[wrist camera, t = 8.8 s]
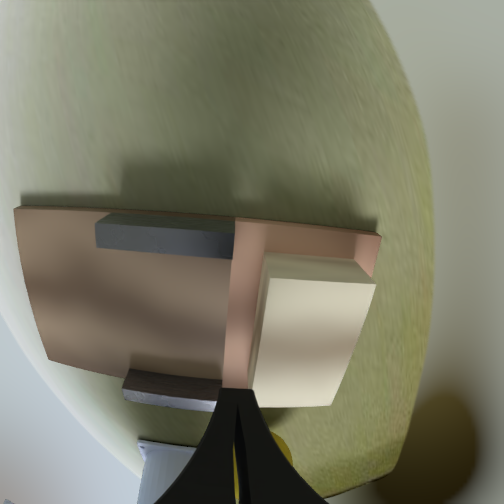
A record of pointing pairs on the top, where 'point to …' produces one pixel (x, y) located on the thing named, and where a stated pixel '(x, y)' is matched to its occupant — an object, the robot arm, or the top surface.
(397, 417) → the top surface
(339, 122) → the top surface
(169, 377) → the channel
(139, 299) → the board
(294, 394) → the block
